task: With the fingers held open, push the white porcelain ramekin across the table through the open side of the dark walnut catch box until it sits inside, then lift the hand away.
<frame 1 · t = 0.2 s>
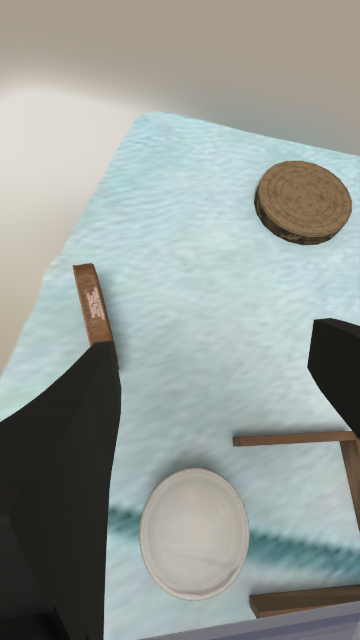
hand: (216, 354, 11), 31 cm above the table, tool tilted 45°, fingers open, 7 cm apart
ramekin: (189, 518, 36), on the table
catch box: (302, 510, 37), on the table
tin: (101, 329, 43), on the table
wood slice coaster: (297, 209, 55), on the table
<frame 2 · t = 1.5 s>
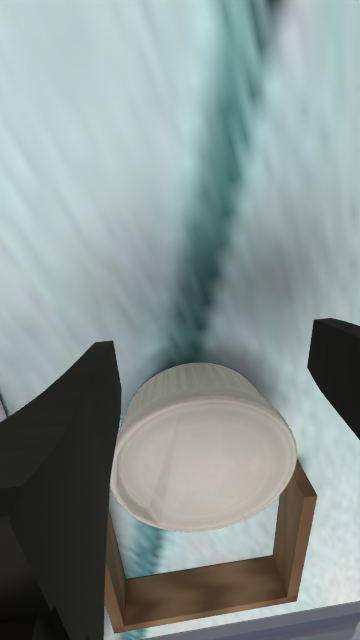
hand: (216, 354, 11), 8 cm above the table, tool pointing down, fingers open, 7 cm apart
ramekin: (191, 410, 23), on the table
catch box: (198, 527, 28), on the table
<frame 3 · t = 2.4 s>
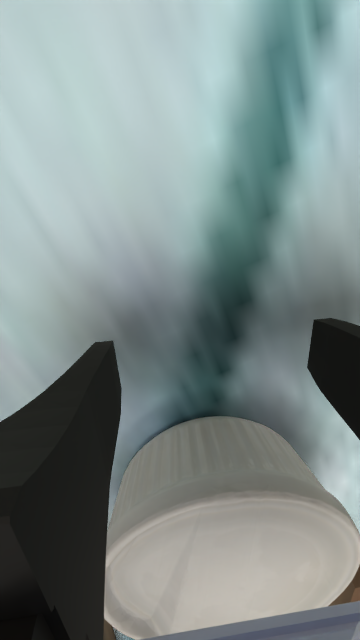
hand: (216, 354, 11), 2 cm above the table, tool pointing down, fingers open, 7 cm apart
ramekin: (207, 471, 18), on the table
catch box: (211, 601, 23), on the table
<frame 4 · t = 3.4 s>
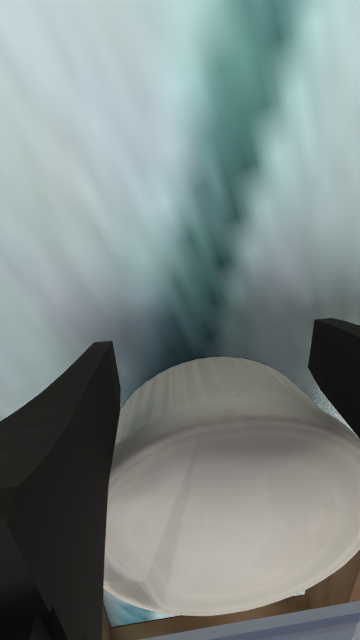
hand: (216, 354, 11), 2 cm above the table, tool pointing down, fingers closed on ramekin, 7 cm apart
ramekin: (207, 426, 16), on the table, touching gripper
catch box: (209, 562, 21), on the table
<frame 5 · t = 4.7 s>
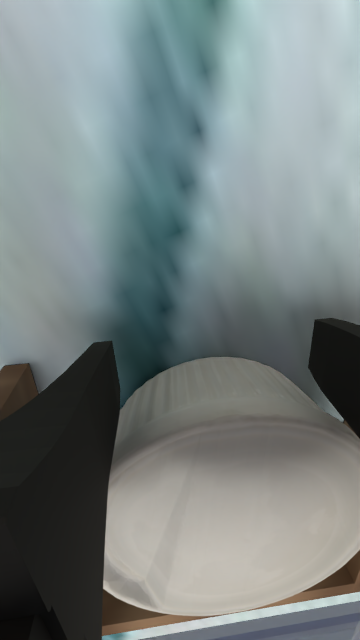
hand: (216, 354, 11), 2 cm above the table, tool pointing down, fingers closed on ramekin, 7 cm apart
ramekin: (207, 426, 16), on the table, touching gripper
catch box: (206, 464, 17), on the table
when the fingers open (2 cm above the table, at t = 5.5 s): ramekin stays where it is, resting on catch box.
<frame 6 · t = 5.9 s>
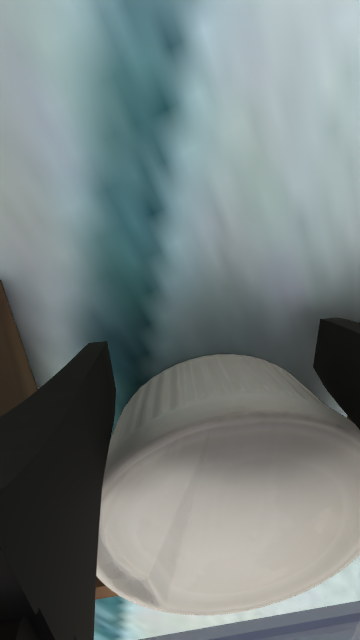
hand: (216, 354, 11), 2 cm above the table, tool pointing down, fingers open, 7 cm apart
ramekin: (211, 424, 16), resting on catch box, touching gripper
catch box: (207, 409, 15), on the table
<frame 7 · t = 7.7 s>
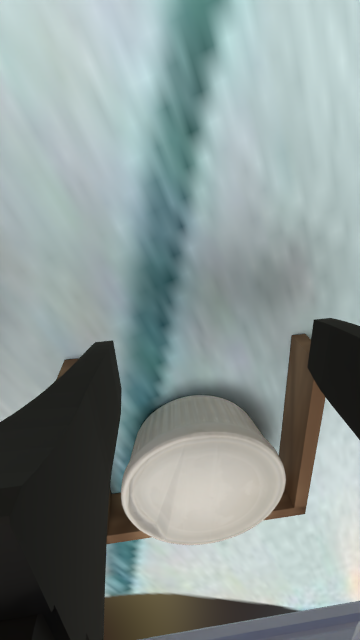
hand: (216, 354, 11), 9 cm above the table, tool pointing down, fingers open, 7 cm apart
ramekin: (193, 434, 26), on the table
catch box: (192, 427, 25), on the table
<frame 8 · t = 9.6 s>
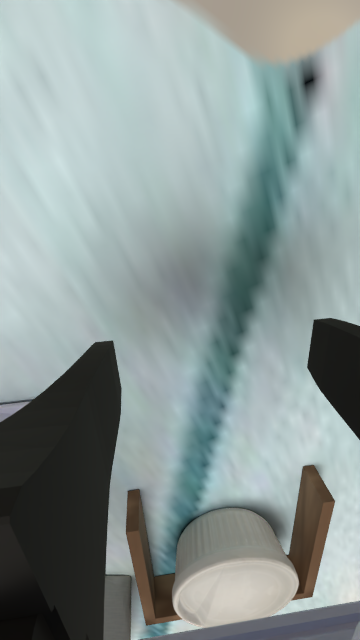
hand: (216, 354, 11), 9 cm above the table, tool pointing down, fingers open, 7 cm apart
ramekin: (222, 532, 32), on the table
catch box: (222, 529, 31), on the table
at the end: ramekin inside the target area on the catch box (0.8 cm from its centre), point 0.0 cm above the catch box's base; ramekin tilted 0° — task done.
